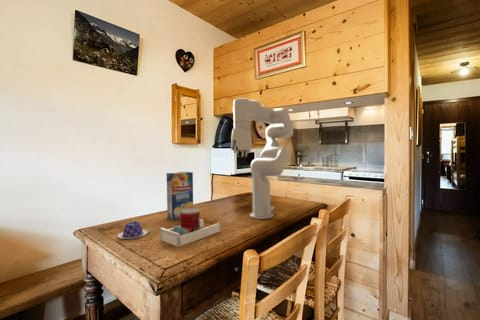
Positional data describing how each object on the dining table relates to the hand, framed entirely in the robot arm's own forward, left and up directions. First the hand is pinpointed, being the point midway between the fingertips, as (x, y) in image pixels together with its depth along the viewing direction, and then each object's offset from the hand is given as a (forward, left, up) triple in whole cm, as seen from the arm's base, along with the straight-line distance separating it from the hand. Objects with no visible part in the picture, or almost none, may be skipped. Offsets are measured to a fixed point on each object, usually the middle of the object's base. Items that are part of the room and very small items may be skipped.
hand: (242, 165), depth 112 cm
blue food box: (+8, -37, -29) cm, 48 cm away
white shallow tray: (+23, -9, -29) cm, 38 cm away
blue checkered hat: (+38, -30, -29) cm, 57 cm away
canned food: (+24, -9, -29) cm, 39 cm away
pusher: (+29, -9, -29) cm, 42 cm away
